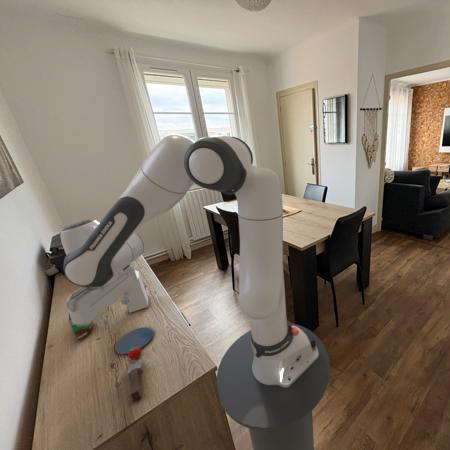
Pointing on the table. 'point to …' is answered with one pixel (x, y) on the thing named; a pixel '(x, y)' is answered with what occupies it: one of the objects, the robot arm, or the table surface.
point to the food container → (81, 329)
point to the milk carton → (137, 295)
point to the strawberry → (134, 352)
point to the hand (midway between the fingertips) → (115, 313)
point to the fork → (135, 379)
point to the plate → (134, 340)
